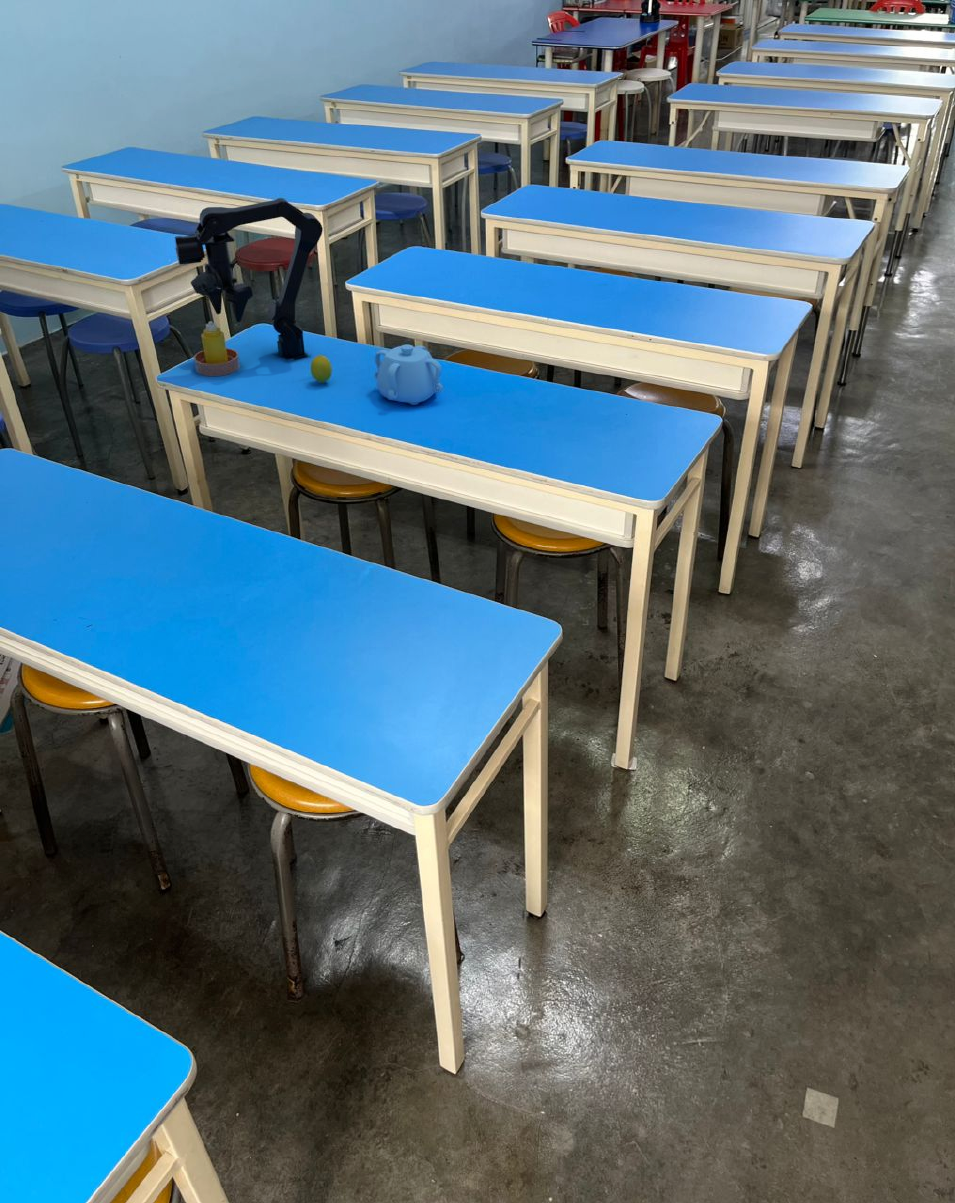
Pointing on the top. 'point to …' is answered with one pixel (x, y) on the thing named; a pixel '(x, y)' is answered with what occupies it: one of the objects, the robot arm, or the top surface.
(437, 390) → the decorative pot
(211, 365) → the bowl
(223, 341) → the mustard bottle
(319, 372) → the lemon
